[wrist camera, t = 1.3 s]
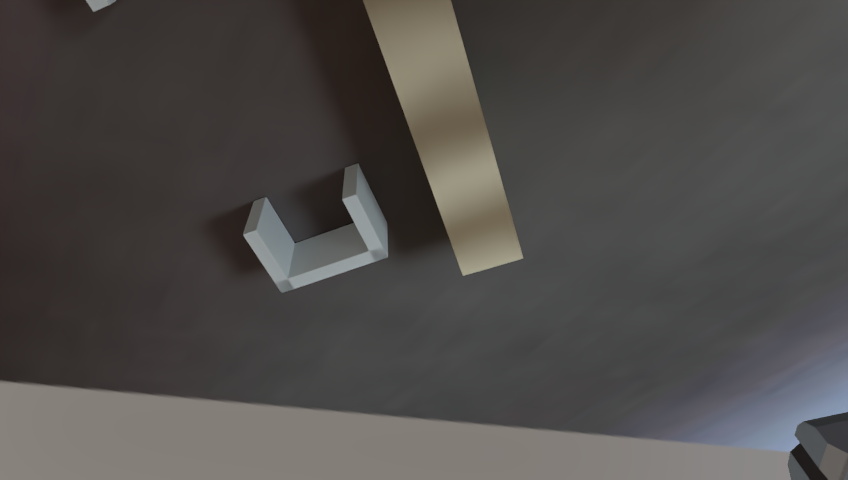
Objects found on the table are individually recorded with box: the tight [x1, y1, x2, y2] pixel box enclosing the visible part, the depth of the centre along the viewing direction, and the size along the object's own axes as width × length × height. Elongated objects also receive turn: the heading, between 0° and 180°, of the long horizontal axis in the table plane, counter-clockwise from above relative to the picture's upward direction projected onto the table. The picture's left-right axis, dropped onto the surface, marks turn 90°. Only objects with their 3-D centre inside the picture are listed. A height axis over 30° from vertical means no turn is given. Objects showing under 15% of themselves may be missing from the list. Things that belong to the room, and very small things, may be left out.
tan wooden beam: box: [363, 0, 523, 276], centre depth 30 cm, size 18×4×4 cm, turn 18°
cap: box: [243, 163, 388, 293], centre depth 34 cm, size 4×7×4 cm
